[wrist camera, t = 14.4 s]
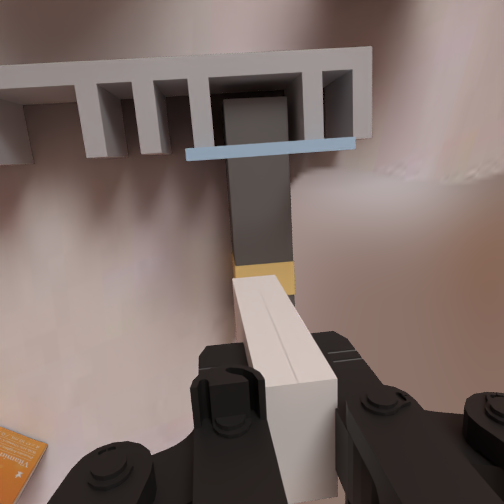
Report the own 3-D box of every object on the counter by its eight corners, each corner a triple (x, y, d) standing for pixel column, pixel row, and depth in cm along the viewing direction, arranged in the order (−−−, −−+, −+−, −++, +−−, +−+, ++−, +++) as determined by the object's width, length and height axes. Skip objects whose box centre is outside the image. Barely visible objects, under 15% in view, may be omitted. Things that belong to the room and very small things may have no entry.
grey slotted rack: (-43, 169, 28) (-110, 171, 22) (-62, 91, 27) (-138, 72, 21) (341, 141, 30) (371, 137, 24) (339, 68, 29) (372, 46, 23)
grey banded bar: (236, 312, 33) (240, 336, 28) (221, 108, 29) (222, 99, 24) (285, 307, 33) (296, 330, 28) (276, 105, 29) (287, 95, 25)
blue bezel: (195, 160, 29) (186, 161, 19) (194, 152, 29) (184, 148, 19) (305, 152, 30) (355, 149, 20) (305, 144, 30) (355, 136, 19)
